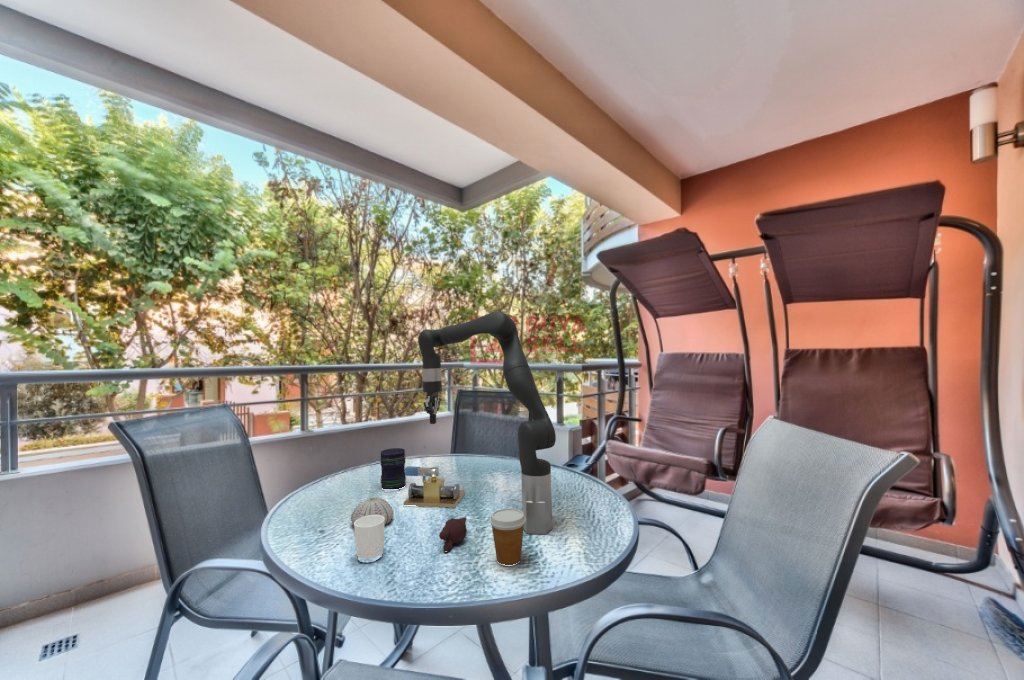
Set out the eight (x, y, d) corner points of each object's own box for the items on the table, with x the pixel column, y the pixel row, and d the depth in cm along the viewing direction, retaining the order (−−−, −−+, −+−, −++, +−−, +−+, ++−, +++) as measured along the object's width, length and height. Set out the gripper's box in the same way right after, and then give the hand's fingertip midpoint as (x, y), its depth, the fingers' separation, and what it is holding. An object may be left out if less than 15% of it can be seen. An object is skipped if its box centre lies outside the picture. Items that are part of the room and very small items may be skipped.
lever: (440, 474, 152) (440, 466, 153) (436, 477, 149) (436, 469, 149) (408, 473, 155) (408, 465, 155) (404, 476, 152) (404, 468, 152)
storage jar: (375, 490, 164) (375, 453, 164) (390, 482, 173) (389, 447, 173) (397, 492, 161) (396, 454, 161) (410, 484, 170) (409, 448, 170)
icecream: (452, 508, 127) (427, 533, 113) (472, 505, 125) (450, 530, 111) (458, 529, 127) (434, 558, 113) (479, 526, 125) (457, 555, 111)
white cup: (375, 547, 116) (374, 512, 117) (391, 555, 111) (390, 519, 112) (349, 559, 110) (348, 522, 111) (364, 568, 105) (364, 529, 106)
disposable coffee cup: (483, 561, 107) (482, 515, 108) (509, 547, 114) (508, 504, 114) (508, 574, 101) (507, 525, 101) (534, 559, 107) (532, 514, 108)
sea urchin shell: (368, 513, 142) (368, 490, 142) (402, 517, 137) (401, 493, 138) (341, 529, 129) (341, 504, 129) (378, 534, 125) (377, 508, 125)
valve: (454, 508, 144) (453, 478, 144) (403, 506, 146) (402, 477, 147) (464, 493, 157) (464, 466, 158) (418, 492, 160) (417, 465, 160)
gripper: (435, 381, 154) (436, 427, 154) (446, 378, 167) (447, 420, 167) (416, 381, 155) (417, 426, 155) (429, 378, 168) (430, 420, 168)
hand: (433, 423), depth 161 cm, fingers closed
